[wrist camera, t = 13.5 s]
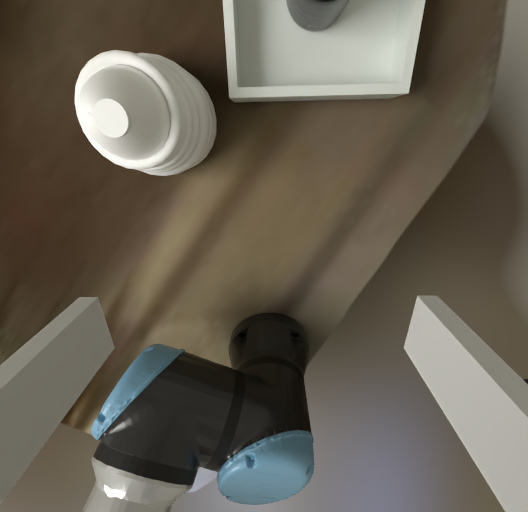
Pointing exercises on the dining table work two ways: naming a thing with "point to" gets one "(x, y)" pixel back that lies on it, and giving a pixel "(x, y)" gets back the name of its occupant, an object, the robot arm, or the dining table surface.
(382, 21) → the tote
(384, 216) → the dining table surface
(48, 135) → the dining table surface
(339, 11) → the supplement bottle
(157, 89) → the honey pot
